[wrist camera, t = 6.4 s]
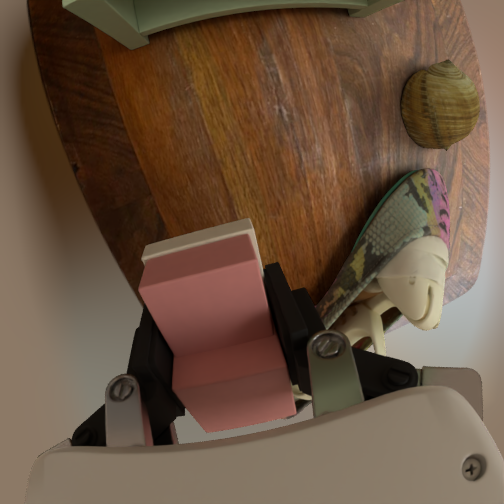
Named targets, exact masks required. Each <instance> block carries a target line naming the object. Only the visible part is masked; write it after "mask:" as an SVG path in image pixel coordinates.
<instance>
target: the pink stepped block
mask: <svg viewBox="0 0 504 504" xmlns="http://www.w3.org/2000/svg"><path fill="white" fill-rule="evenodd" d="M142 261H143V263H144V265H145V269H144V272H143V275H142V279H141V282H140V285H139V292H140V294H141V296H142V298H143V300H144V302H145V304H146V306H147V308H148V310H149V312H150V313H151V315H152V317H153V319H154V321H155V323H156V325H157V326H158V328H159V330H160V332H161V333H162V335H163V337H164V339H165V340H166V342H167V344H168V346H169V347H170V349H171V351H172V352H173V372H172V391H173V392H174V393H175V395H176V396H177V397H178V399H179V400H180V401H181V402H182V404H183V405H184V406H185V407H186V409H187V410H188V411H189V412H190V414H191V415H192V416H193V417H194V418H195V420H196V421H197V422H198V423H199V424H200V426H201V427H202V428H203V429H204V430H205V431H206V432H208V433H209V432H216V431H223V430H229V429H234V428H239V427H244V426H249V425H254V424H259V423H264V422H268V421H272V420H276V419H280V418H284V417H288V416H292V415H295V414H296V406H295V401H294V396H293V391H292V386H291V381H290V376H289V371H288V366H287V362H286V359H285V356H284V353H283V350H282V347H281V343H280V340H279V337H278V334H277V331H276V328H275V324H274V321H273V317H272V313H271V308H270V304H269V299H268V295H267V290H266V286H265V281H264V272H263V267H262V263H261V258H260V254H259V249H258V245H257V240H256V236H255V231H254V228H253V225H252V223H251V220H250V218H246V219H242V220H238V221H235V222H231V223H227V224H223V225H219V226H215V227H211V228H208V229H204V230H200V231H196V232H193V233H189V234H185V235H182V236H178V237H174V238H171V239H167V240H164V241H160V242H156V243H153V244H149V245H146V247H145V249H144V252H143V255H142Z"/></svg>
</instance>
